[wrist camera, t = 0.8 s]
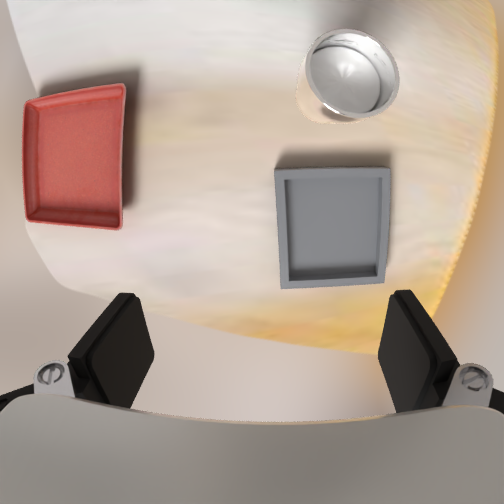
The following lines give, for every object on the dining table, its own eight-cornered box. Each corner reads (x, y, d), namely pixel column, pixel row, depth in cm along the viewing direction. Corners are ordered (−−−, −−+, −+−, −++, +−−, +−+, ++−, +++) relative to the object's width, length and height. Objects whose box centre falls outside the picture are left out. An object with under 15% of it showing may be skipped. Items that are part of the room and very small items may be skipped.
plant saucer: (36, 101, 32) (22, 101, 29) (137, 85, 31) (125, 81, 28) (38, 216, 39) (25, 222, 36) (134, 223, 38) (122, 231, 35)
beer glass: (282, 80, 30) (285, 39, 16) (338, 63, 28) (378, 18, 15) (304, 135, 32) (325, 134, 18) (361, 118, 31) (416, 108, 17)
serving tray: (274, 168, 34) (274, 170, 32) (384, 166, 32) (390, 168, 30) (280, 280, 39) (280, 289, 37) (379, 275, 37) (384, 283, 35)
